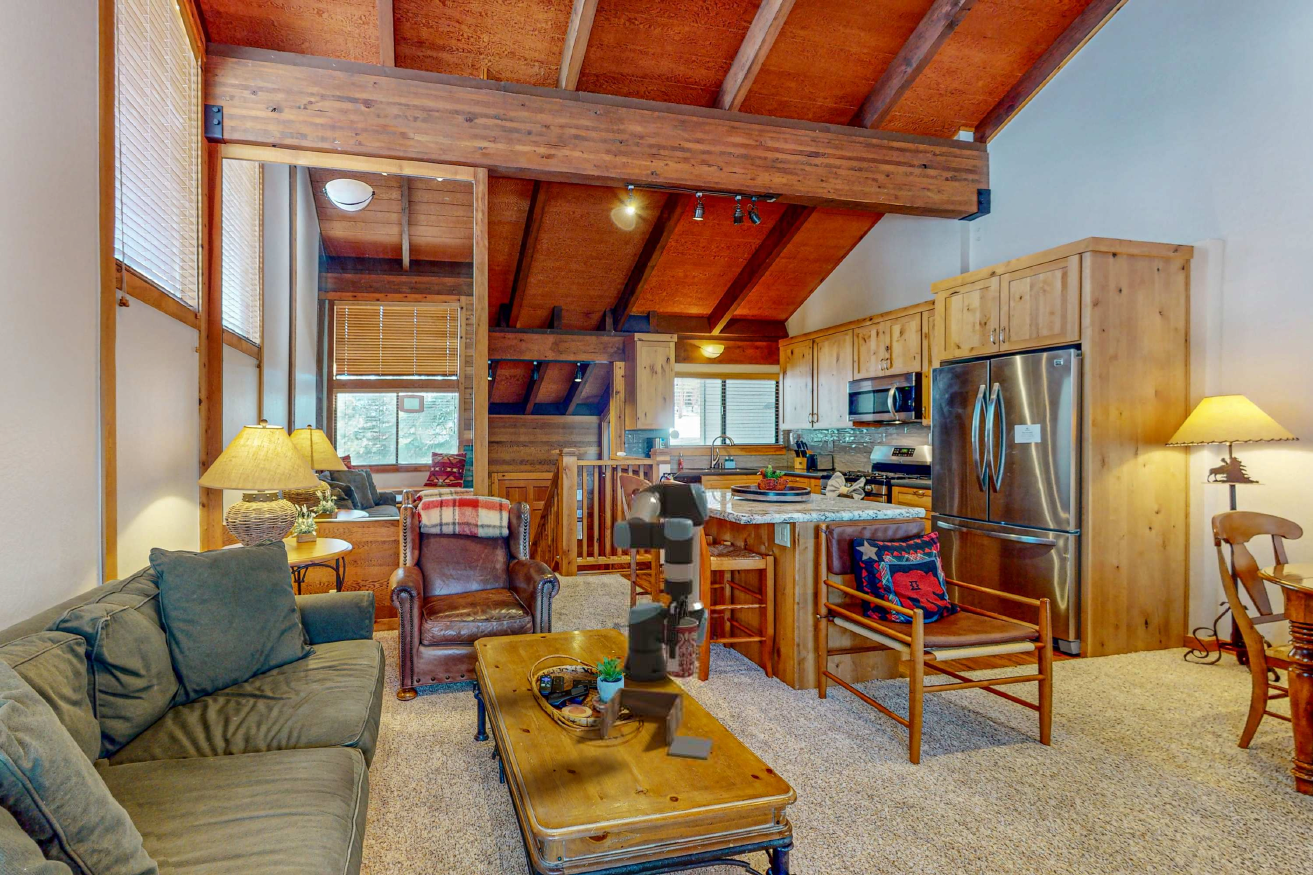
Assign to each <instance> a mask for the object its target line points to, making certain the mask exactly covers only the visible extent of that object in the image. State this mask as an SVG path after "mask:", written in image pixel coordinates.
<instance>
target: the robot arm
mask: <svg viewBox="0 0 1313 875" xmlns="http://www.w3.org/2000/svg"><path fill="white" fill-rule="evenodd" d="M709 515H710V514H709V506H708V498H707V491H706V488H705V486H704V485H703V484H696V483H655V484H652V485H649V486H646V487H645V488H642V489H641V490H639V491H638V492H637V493H636V494H635V495H634V496H633V497H632V500H631V501H630V512H629V514H628V517H627V518H626V520H621V521H616V522H615V523H614V525H613V534H612V535H613V537H612V538H613V546H614V547H615V548H617V549H625V550H663V551H664V553H663V555H664V558H663V559H664V560H663V561H664V564H662V566H661V567H662V568H661V569H664V570H663V576H664V577H665V579H663V593H664V594H665V595H667V596H670V597H671V598H670V601H669V603H668V604H667V608H666V607H665V608H664V605H663V603H662V602H654V601H653V602H644V603H639V604H637V605H634V606H632V607H631V608H630V609H629V612H628V620H627V624H628V629H627V632H628V637H627V639H628V640H627V641H628V642H627V644H628V645H627V646H628V648H627V654H626V657H625V661H624V663H623V666H622V673H623V672H624V673H625V676H624V678H626V679H628V680H632V681H635V682H655V681H660V680H664V679H665V678H666V677H667V676H668V674H667V673H666V656H665V655H664V652H663V651H664V650H663V648H664V646H665V645H668V669H667V671H676V672H678V671H679V645H678V631H677V626H680V620H681V619H682V618H685V617H687V618H692V619H695V620H697V621H698V626H697V639H696V646H700V645H702V644H703V643H704V642H705V638H706V632H707V625H708V616H709V611H708V609H706V608H705V606H704V603H703V602H702V601H701V600H700V568H701V566H700V561H701V560H700V552H701V550H700V549H701V548H700V547H701V545H700V542H701V540H700V539H701V529H702V528H703V527H704V526H705V521H707V520H709V519H710V516H709ZM655 519H660V520H661V519H664V520H665V519H666V520H665V521H654V520H655ZM665 619H667V630H666V642H665V625H664V620H665ZM663 645H664V646H663ZM666 675H667V676H666Z"/></svg>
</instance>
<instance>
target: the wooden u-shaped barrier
mask: <svg viewBox="0 0 1313 875" xmlns="http://www.w3.org/2000/svg"><path fill="white" fill-rule="evenodd" d="M621 707H623V708H624V709H626V710H628V711H629V713H632V714H631V715H636V716H637V715H638V716H645V717H648V716H649V717H657V718H666V737H665V738H666V739H665V740H666V741H665V742H666V744H665V745H666V746H670V747H671V745H672V743H673V740H674V738H675V736H676V734H677V732H678V730H679V728H680V725H681V723H682V720H683V718H684V693H682V692H671V691H661V690H650V689H639V688H631V687H620V688H619V689H618V688H617V689H616V691H615V692H614V693H613V695H612V696H611V697H610V699H609V700H608V702H607V703H606V704H605V705H604V707H603V708H602V709H601V710H600V727H599V728H600V734H599V735H600V739H605V738H606V736H607V735H608V733H609V732H610V731H611V729H612V727H614V724H616V722H617V720H618V719H617V717H618V715H619V713H620V710H621ZM618 718H619V717H618ZM616 719H617V720H616ZM615 721H616V722H615Z"/></svg>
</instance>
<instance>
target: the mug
mask: <svg viewBox="0 0 1313 875" xmlns="http://www.w3.org/2000/svg"><path fill="white" fill-rule="evenodd" d="M664 625H665V642H666V630H667V619H665V620H664ZM697 626H698V621H697V620H695V619H692V618H687V617H685V618H682V619H681V620H680V626H677V631H678V645H679V671H678V672H676V671H667V669H668V645H664V646H665V651H664V652H665V661H666V673H667V676H668V677H669V676H670V677H671V678H678V679H679V678H680V679H683V678H690V677H693V675H694V674H695V666H696V665H695V663H696V653H697V652H696V650H697V648H696V647H697V645H696V639H697Z"/></svg>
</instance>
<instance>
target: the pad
mask: <svg viewBox="0 0 1313 875" xmlns="http://www.w3.org/2000/svg"><path fill="white" fill-rule="evenodd" d="M713 742H714V739H710V738H701V737H694V736H693V737H692V736H686V735H685V736H684V735H683V736H682V735H675V736H674V738H673V741H672V743H671V745H670V747H669V749H668V752H667V755H668V756H673V757H674V756H675V757H682V758H692V759H701V760H708V758H709V756H710V755H709V754H710V752H711V748H712V746H713Z"/></svg>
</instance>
